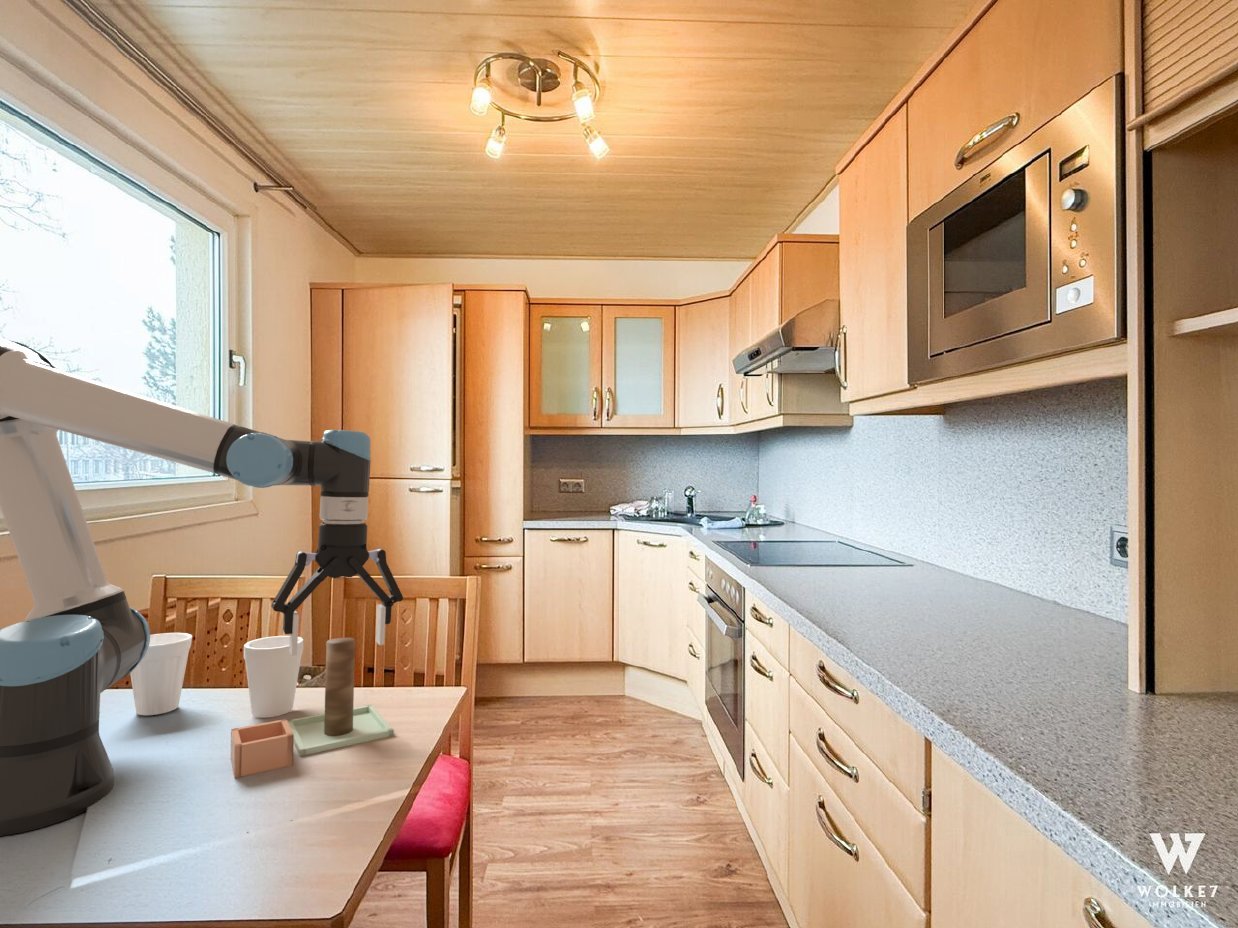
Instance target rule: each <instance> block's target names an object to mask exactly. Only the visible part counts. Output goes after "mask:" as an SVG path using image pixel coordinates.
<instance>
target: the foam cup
mask: <svg viewBox="0 0 1238 928" xmlns="http://www.w3.org/2000/svg"><path fill="white" fill-rule="evenodd" d="M289 646H290V635H277V636H276V635H275V636H267V637H261V638H257V639H253V640H250V641H247V642H246V643H245V644H244V645H243V660H244V662H245V670H246V676H247V677H246V678H247V685H248V687H247V688H248V693H249V702H250V711H251V716H252V718H253V719H257V718H260V719H261V718H265V719H266V718H268V719H269V718H274V717H275V718H276V717H279V716H284V715H286V714H288V713H291V712H293V709H294V705H295V697H296V689H297V686H298V685H297V684H298V680H299V679H298V678H299V673H300V668H301V667H300V666H301V660H302V654H303V653H304V639H303V637H301V636H298V644H297V655H294V656H292V655H291V654H290V652H289Z"/></svg>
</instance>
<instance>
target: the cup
mask: <svg viewBox="0 0 1238 928" xmlns="http://www.w3.org/2000/svg"><path fill="white" fill-rule="evenodd" d="M192 640H193V634H190V633H187V632H164V633H155V634H150V643H149V647H148V650H147V652H146V654H145V656H144V657H143V659H142V660H141V661H140V663H139V664H138V665H137V666H136V668H135V669H134V670H133V671H132V672H131V673H130V674H129V675H130V679H131V687H132V694H133V700H134V701H133V702H134V706H135V714H137V715H139V716H153V715H155V716H156V715H161V714H165V713H169V712H171V711H175V710H176V709H177V708H179V706H180V705H179V704H180V700H181V693H182V689H183V684H184V678H185V673H186V669H187V668H186V667H187V664H188V663H187V662H188V657H189V652H190V649H191V647H192Z"/></svg>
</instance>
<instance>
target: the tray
mask: <svg viewBox="0 0 1238 928" xmlns="http://www.w3.org/2000/svg"><path fill="white" fill-rule="evenodd" d="M324 720H325V712H324V713H319V714H314V715H309V716H304V717H299V718H298V717H297V718H291V719H288V720H287V722H288V724H289V726H290V728H291V730H292V732H293V734H294V741H293V746H294V747H295V749H296V751H297V754H298V756H299V757H303V756H308V755H312V754H317V753H321V752H325V751H330V750H335V749H339V748H344V747H348V746H352V745H358V744H361V743H366V742H371V741H375V740H381V739H384V738H389V737H393V736H394V730H395V729H394V728H392V726H391V725H390V724H389V723H388V721H387V720H386V719H385V718H384V717H383V716H382V715H381V714H380V713H379V711H378V710H377V709H376V708H375V706H374V705H373V704H368V705H362V706H356V707H353V730H352V731H351V732H350V733H347V734H344V735H340V736H327V735H325V734H324Z"/></svg>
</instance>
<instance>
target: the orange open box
mask: <svg viewBox="0 0 1238 928" xmlns="http://www.w3.org/2000/svg"><path fill="white" fill-rule="evenodd" d="M293 741H294V734H293V732H292V730H291V728H290V726H289V724H288V722H287V718H284V719H280V720H273V721H267V722H263V723H258V724H253V725H252V724H251V725H245V726H241V727H236V728H231V731H230V764H231V768H232V769H231V770H232V772H233V777H234V779H237V778H243V777H248V776H251V775H257V774H260V773H264V772H265V773H266V772H269V771H273V770H277V769H281V768H282V769H283V768H286V767H292V766H294V743H293Z"/></svg>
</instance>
